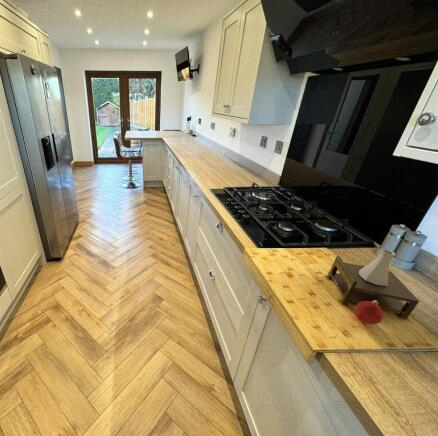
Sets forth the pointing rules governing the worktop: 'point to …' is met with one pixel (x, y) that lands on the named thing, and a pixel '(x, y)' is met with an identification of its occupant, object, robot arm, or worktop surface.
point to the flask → (378, 269)
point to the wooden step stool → (371, 289)
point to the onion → (369, 312)
